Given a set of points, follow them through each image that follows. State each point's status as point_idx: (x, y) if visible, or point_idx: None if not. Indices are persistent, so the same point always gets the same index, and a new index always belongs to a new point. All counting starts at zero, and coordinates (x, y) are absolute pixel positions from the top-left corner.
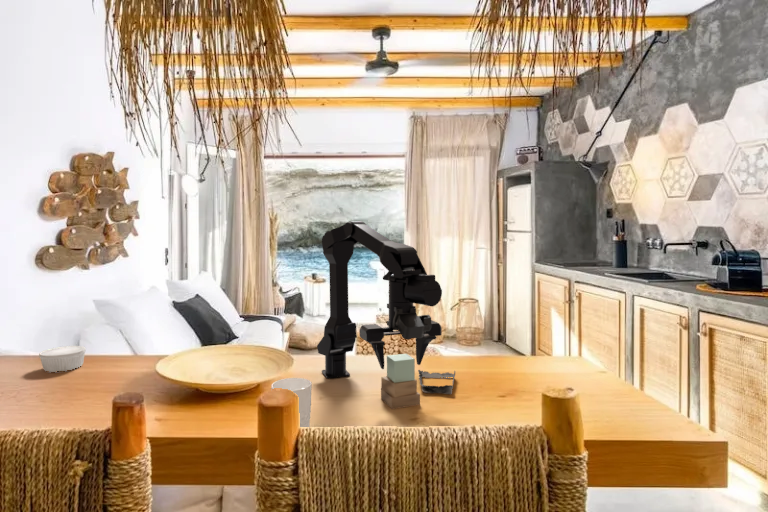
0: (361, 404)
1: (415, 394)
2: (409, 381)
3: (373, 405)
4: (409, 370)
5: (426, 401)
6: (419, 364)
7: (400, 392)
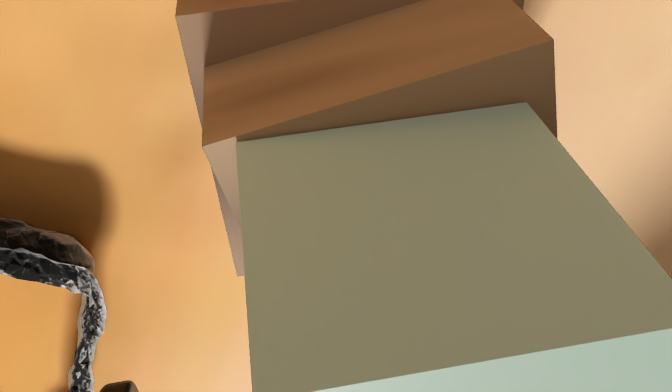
0: (661, 91)
1: (232, 16)
2: (318, 114)
3: (591, 52)
4: (337, 222)
5: (93, 43)
6: (118, 384)
7: (429, 17)
